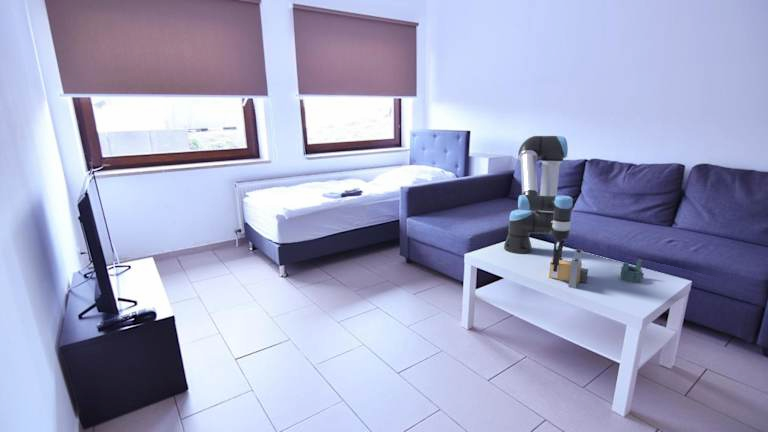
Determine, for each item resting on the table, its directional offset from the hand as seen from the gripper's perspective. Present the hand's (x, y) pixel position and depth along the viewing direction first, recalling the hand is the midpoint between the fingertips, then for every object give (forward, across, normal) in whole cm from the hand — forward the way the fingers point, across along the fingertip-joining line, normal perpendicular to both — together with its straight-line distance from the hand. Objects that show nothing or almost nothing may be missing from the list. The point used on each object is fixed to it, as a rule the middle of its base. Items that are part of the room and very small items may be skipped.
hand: (555, 274), depth 187 cm
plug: (+1, 0, +5) cm, 6 cm away
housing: (+1, 0, +8) cm, 8 cm away
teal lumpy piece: (+1, -15, +31) cm, 35 cm away
